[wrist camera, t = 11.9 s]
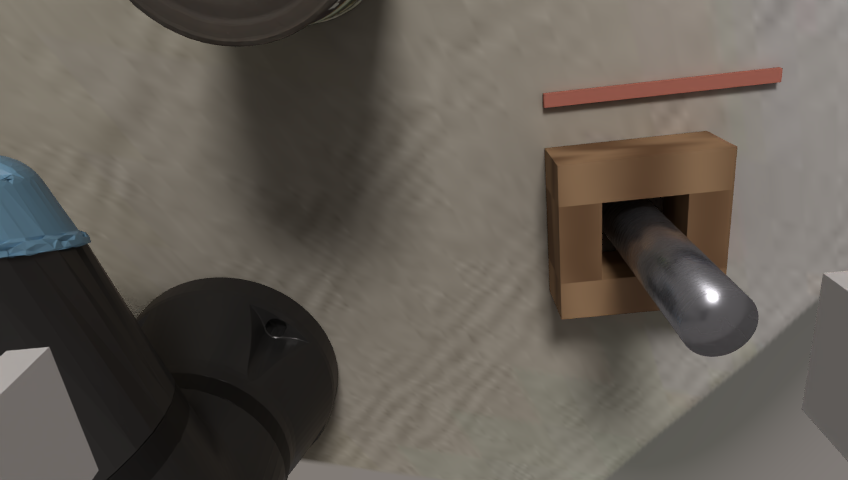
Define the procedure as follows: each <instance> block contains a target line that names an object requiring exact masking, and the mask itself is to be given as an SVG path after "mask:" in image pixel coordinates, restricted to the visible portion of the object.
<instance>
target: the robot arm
mask: <svg viewBox="0 0 848 480" xmlns="http://www.w3.org/2000/svg"><path fill="white" fill-rule="evenodd" d="M87 243H91V240H90V237H89V236H88V234H87V233H85V232H82V231H80V230H78V229H77V227H76V226H75V225H74V223H73V222H72V220H71V219H70V218H69V216H68V215H67V214H66V212H65V211H64V209H63V208H62V207H61V205H60V204H59V202H58V201H57V200H56V198H55V197H54V195H53V194H52V193H51V191H50V190H49V188H48V187H47V186H46V184H45V183H44V181H43V180H42V179H41V178H40V176H39V175H38V174H37V173H36V172H35V171H34V170H32V169H31V168H30V167H29V166H27V165H26V164H24V163H22V162H20V161H18V160H15V159H12V158H9V157H6V156H1V155H0V480H287V478H288V475H289V474H290V472H291V471H292V470H293V468H294V467H295V466H296V465H297V463H298V462H299V461H300V460H301V458H302V457H303V456H304V454H305V453H306V452H307V450H308V449H309V448H310V447H311V445H312V444H313V443H314V442H315V441H316V440H317V439H318V437H319V436H320V435H321V433H322V432H323V430H324V428H325V426H326V424H327V422H328V420H329V417H330V415H331V412H332V408H333V403H334V399H335V394H336V389H337V383H338V369H337V362H336V358H335V354H334V351H333V348H332V346H331V343H330V341H329V339H328V337H327V335H326V334H325V332H324V331H323V329H322V328H321V326H320V325H319V324H318V322H317V321H316V320H315V319H314V318H313V317H312V316H311V315H310V314H309V313H308V312H307V311H306V310H305V309H304V308H303V307H302V306H300V305H299V304H298V303H297V302H295V301H294V300H292V299H291V298H289V297H288V296H286V295H284V294H282V293H281V292H278V291H276V290H274V289H272V288H270V287H267V286H265V285H262V284H259V283H255V282H252V281H247V280H242V279H235V278H205V279H199V280H194V281H190V282H186V283H183V284H181V285H178V286H176V287H173V288H171V289H169V290H168V291H166V292H164V293H163V294H161V295H160V296H158V297H157V298H156V299H154V300H153V301H152V302H151V303H150V304H149V305H148V306H147V307H146V308H145V309H144V310H143V311H142V313H141V314H140V315H139V316H138V317H137V319H135V317H134V316H133V314H132V313H131V311H130V309H129V308H128V306H127V305H126V303H125V302H124V300H123V299H122V297H121V295H120V294H119V292H118V291H117V289H116V288H115V286H114V284H113V283H112V281H111V280H110V278H109V277H108V275H107V273H106V272H105V270H104V269H103V267H102V266H101V264H100V263H99V261H98V259H97V258H96V256H95V255H94V253H93V252H92V250H91V248H90V247H89V245H88V244H87ZM802 410H803V411H804V412H805V414H806V415H807V416H808V417H809V418H810V419H811V420H812V421H813V423H814V424H815V425H816V426H817V427H818V428H819V429H820V430H821V432H822V433H823V434H824V435H825V436H826V437H827V438H828V439H829V441H830V442H831V443H832V444H833V445H834V446H835V447H836V448H837V450H838V451H839V452H840V453H841V454H842V455H843V456H844V458H845V459H846V460H847V461H848V271H841V272H831V273H823V278H822V284H821V291H820V297H819V303H818V310H817V317H816V323H815V329H814V336H813V342H812V348H811V354H810V361H809V367H808V374H807V380H806V386H805V392H804V399H803V405H802Z"/></svg>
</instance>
